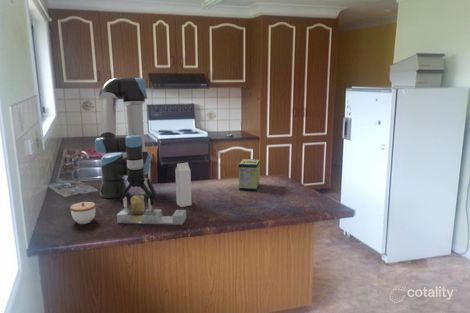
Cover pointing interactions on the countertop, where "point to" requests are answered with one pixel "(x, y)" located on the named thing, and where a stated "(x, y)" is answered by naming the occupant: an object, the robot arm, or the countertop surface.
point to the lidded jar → (83, 212)
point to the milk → (183, 184)
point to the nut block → (137, 204)
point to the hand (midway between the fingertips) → (138, 211)
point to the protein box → (249, 174)
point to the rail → (151, 217)
